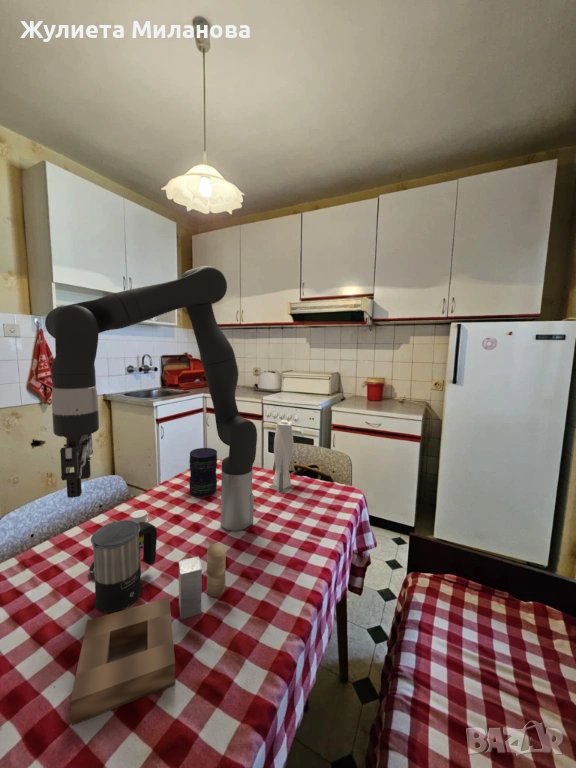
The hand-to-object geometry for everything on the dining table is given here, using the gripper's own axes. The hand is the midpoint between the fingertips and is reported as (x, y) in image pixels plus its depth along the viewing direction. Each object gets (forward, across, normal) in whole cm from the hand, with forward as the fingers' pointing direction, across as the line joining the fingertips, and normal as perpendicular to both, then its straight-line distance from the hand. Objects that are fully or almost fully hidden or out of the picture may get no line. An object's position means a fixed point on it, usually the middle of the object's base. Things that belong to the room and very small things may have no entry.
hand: (79, 486), depth 63 cm
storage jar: (+25, +40, -30) cm, 56 cm away
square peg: (+25, -11, -20) cm, 34 cm away
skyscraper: (+26, +35, -59) cm, 73 cm away
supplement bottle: (+25, +16, -10) cm, 31 cm away
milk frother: (+25, +2, -5) cm, 26 cm away
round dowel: (+25, -8, -26) cm, 37 cm away
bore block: (+25, -18, -10) cm, 32 cm away
